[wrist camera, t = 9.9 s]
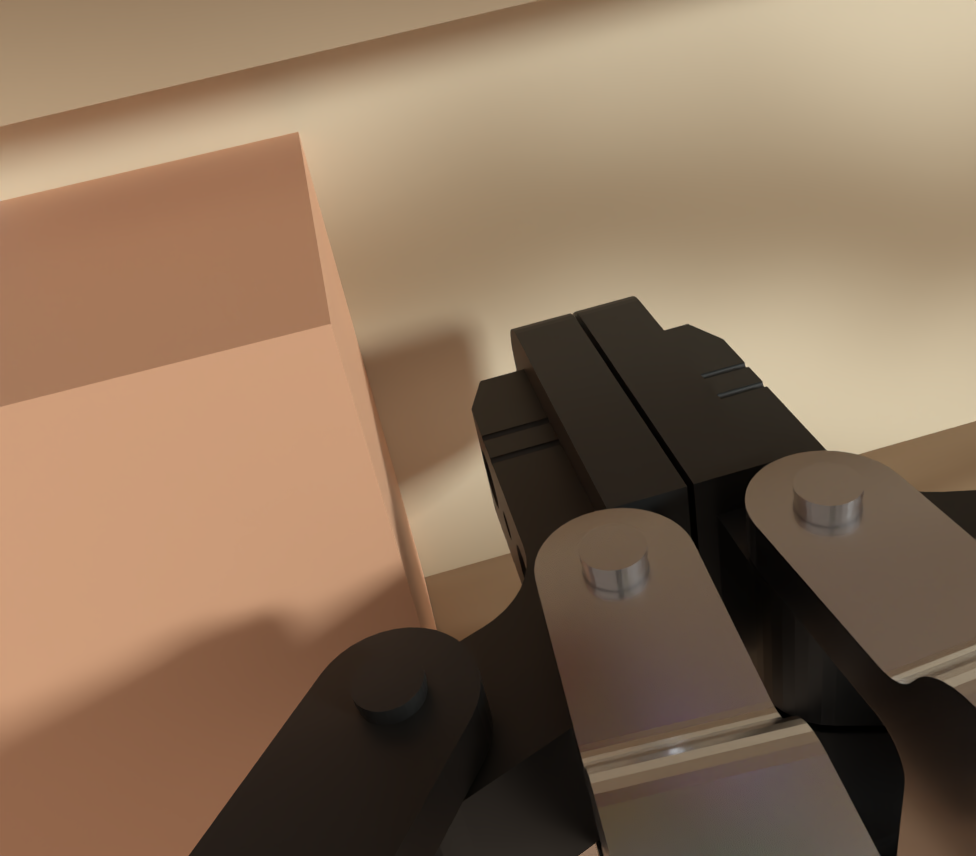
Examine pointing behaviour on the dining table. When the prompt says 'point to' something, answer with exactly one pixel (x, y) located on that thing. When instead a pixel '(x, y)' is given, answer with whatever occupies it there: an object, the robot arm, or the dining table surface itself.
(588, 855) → the dining table surface
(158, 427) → the terracotta block
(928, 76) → the maple chute
